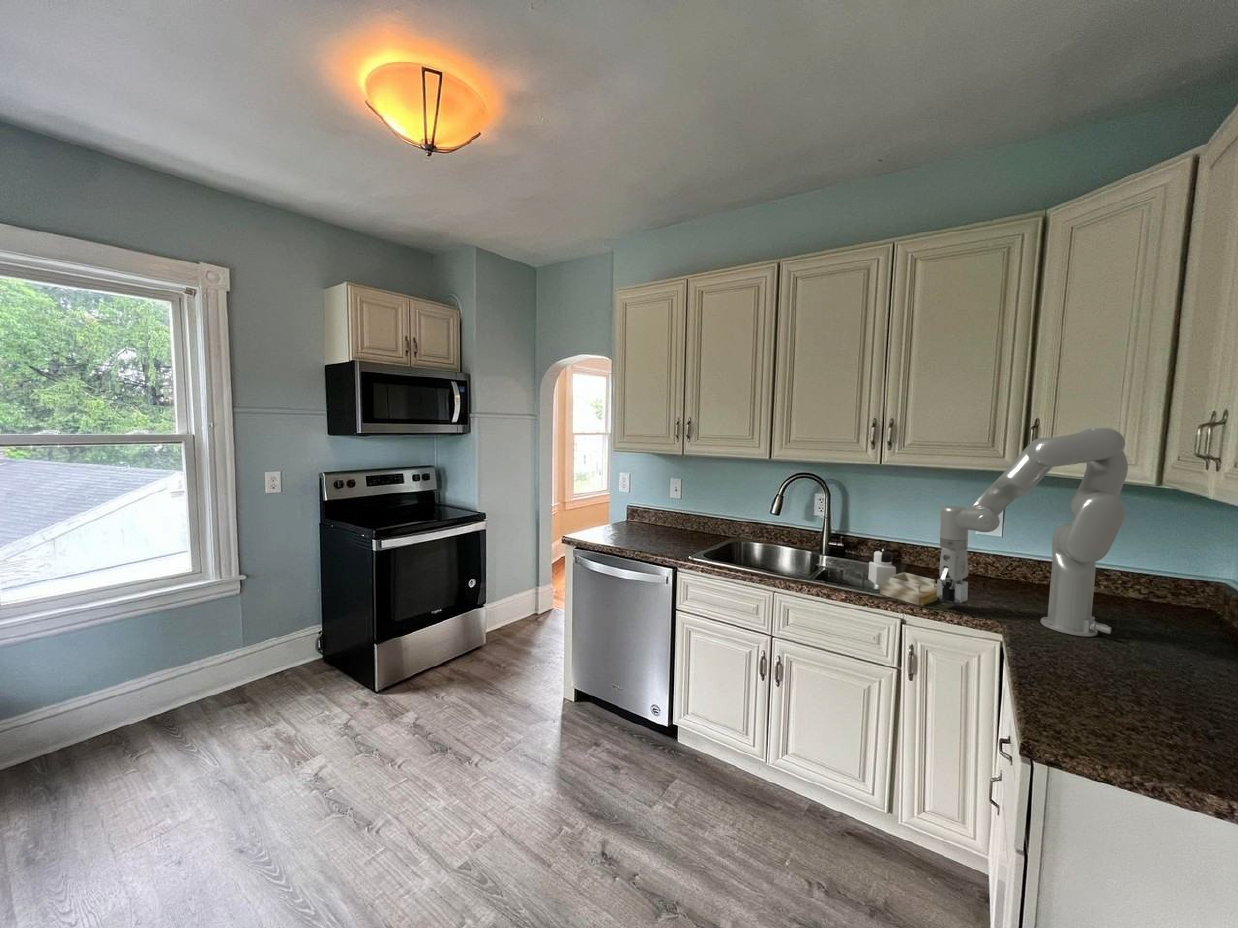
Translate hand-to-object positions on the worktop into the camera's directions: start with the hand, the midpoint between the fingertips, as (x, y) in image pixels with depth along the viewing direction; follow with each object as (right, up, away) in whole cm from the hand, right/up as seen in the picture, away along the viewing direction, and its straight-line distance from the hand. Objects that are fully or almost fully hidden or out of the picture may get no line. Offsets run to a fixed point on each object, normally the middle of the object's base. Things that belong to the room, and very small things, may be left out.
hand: (952, 597), depth 162 cm
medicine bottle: (-8, -2, +28) cm, 29 cm away
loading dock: (-4, -3, +14) cm, 15 cm away
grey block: (0, -1, 0) cm, 1 cm away
